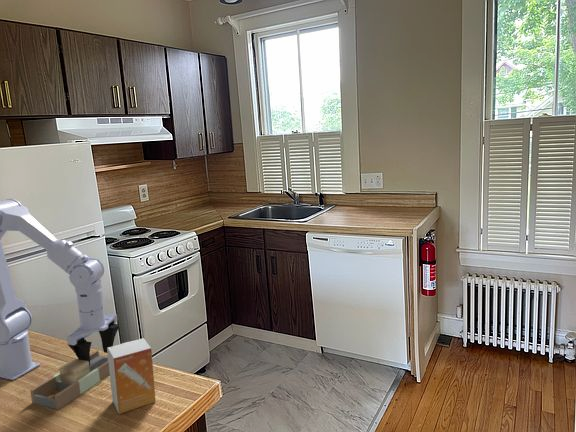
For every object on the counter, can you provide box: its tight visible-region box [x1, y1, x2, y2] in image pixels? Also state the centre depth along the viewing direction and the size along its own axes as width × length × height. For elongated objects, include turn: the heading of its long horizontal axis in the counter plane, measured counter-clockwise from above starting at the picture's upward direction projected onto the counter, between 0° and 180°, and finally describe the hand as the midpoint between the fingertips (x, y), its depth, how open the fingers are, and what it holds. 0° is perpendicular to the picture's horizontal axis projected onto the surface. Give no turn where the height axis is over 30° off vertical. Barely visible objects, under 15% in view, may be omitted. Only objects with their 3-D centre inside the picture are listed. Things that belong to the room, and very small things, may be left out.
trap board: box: [29, 350, 110, 410], centre depth 106 cm, size 8×20×3 cm, turn 159°
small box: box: [107, 337, 156, 415], centre depth 97 cm, size 8×6×13 cm
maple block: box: [58, 358, 90, 384], centre depth 105 cm, size 4×4×4 cm
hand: (97, 359), depth 111 cm, fingers open, 7 cm apart
